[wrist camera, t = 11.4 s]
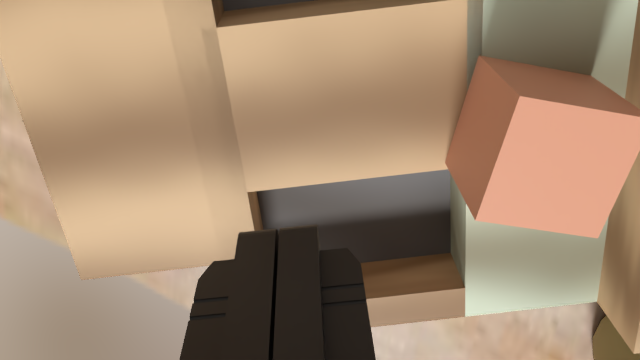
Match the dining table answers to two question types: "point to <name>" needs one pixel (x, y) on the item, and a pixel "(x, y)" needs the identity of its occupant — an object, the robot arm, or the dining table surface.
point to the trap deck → (312, 139)
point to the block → (542, 147)
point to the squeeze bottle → (610, 343)
